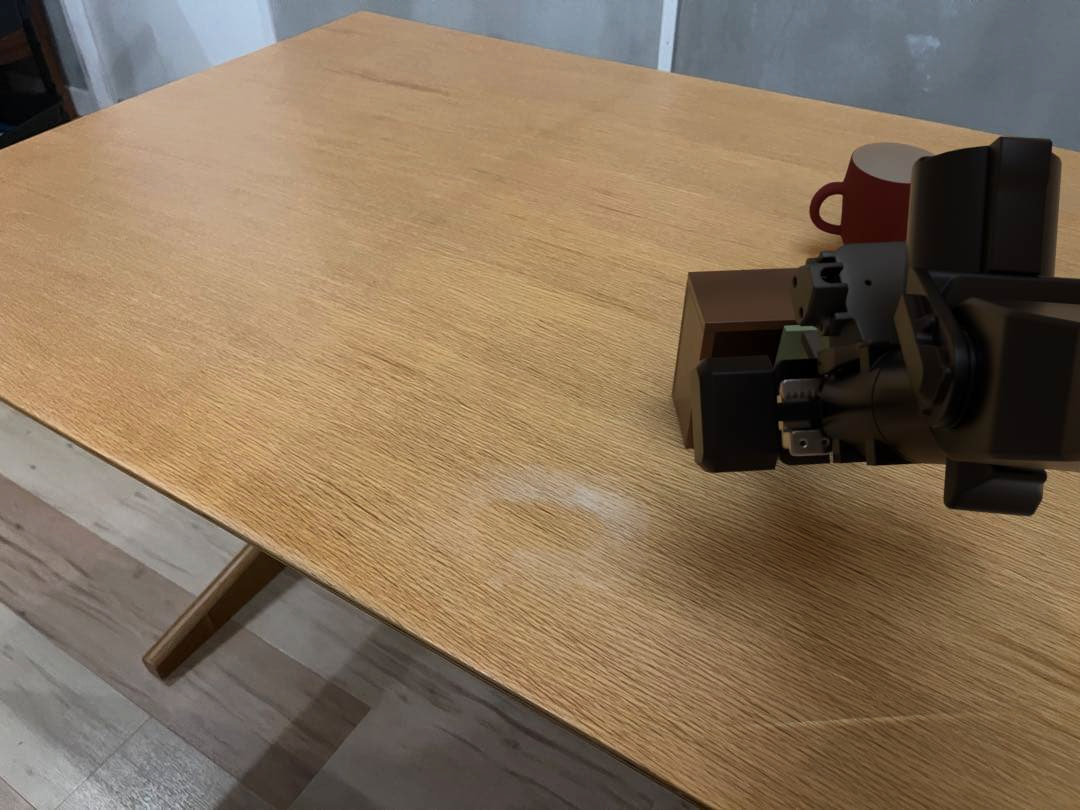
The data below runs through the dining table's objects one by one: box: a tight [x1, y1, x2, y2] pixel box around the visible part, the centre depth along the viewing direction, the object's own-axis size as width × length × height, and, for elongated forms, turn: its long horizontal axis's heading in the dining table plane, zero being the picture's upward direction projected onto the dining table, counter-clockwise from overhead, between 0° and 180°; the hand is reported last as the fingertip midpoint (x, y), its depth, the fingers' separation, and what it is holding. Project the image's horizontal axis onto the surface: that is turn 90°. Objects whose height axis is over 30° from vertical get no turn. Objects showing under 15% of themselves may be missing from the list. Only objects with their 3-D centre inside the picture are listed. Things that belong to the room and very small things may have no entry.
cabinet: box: [671, 267, 799, 449], centre depth 59 cm, size 6×14×12 cm, turn 93°
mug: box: [808, 142, 936, 245], centre depth 76 cm, size 10×8×10 cm
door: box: [774, 325, 829, 378], centre depth 55 cm, size 6×7×11 cm
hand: (809, 413), depth 53 cm, fingers closed on door, 2 cm apart
